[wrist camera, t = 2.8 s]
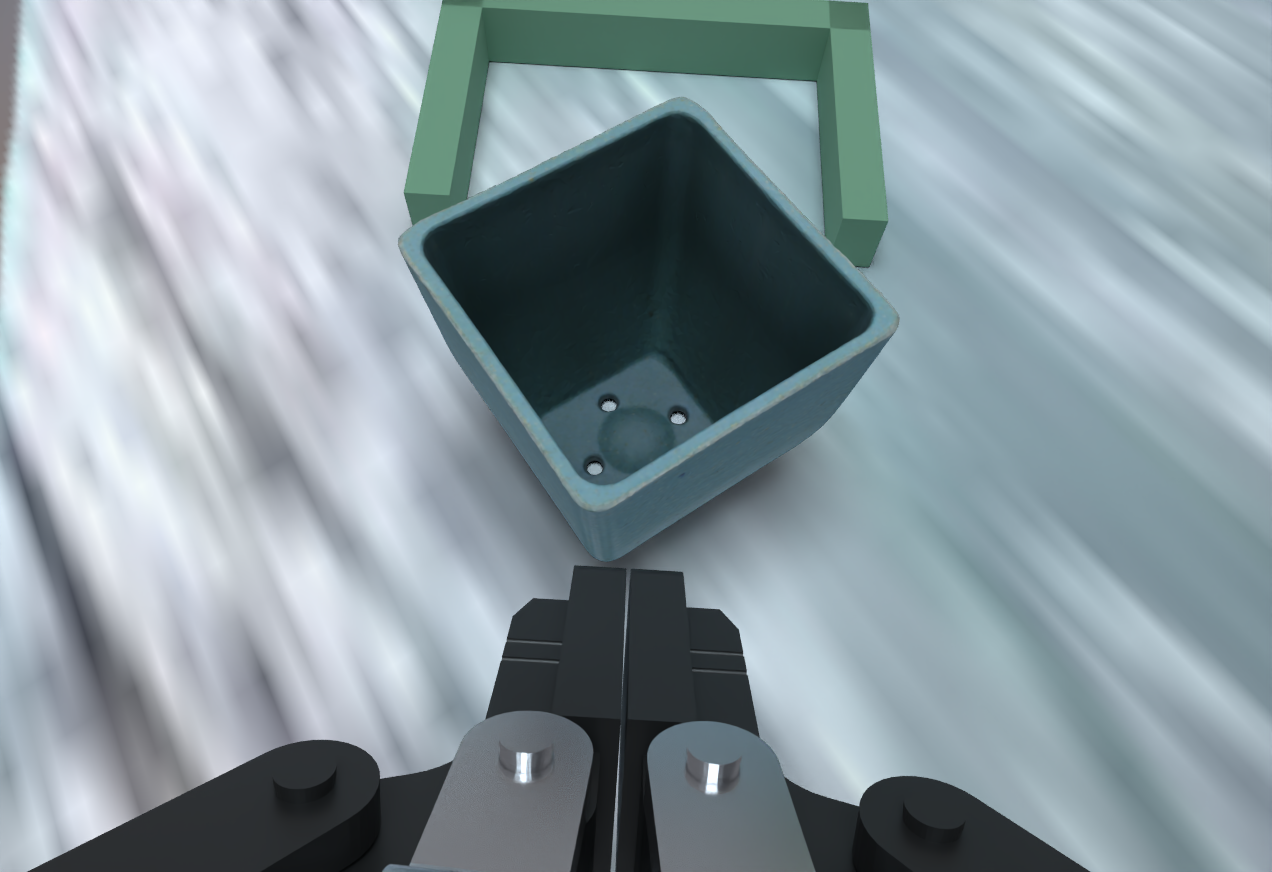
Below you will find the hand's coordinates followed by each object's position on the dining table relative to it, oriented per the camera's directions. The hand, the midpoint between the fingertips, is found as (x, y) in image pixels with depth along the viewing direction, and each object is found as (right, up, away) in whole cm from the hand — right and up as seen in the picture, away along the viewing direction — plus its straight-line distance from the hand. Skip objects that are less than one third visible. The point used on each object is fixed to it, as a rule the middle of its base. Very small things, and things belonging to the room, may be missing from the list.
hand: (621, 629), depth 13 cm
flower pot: (0, +2, +17) cm, 17 cm away
